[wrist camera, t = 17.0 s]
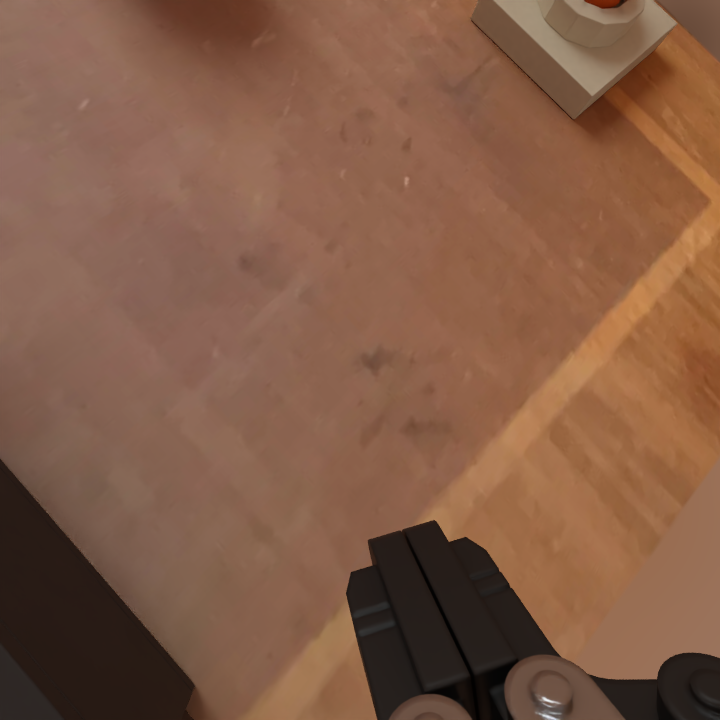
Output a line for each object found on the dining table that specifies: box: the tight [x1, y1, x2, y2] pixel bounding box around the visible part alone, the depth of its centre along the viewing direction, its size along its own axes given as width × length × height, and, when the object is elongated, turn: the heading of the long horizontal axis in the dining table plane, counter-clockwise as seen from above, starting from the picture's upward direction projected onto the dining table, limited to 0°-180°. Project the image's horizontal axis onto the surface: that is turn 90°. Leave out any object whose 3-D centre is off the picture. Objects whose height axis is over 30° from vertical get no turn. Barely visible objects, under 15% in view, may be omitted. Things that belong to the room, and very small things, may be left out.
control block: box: [471, 0, 677, 119], centre depth 34 cm, size 10×10×4 cm
